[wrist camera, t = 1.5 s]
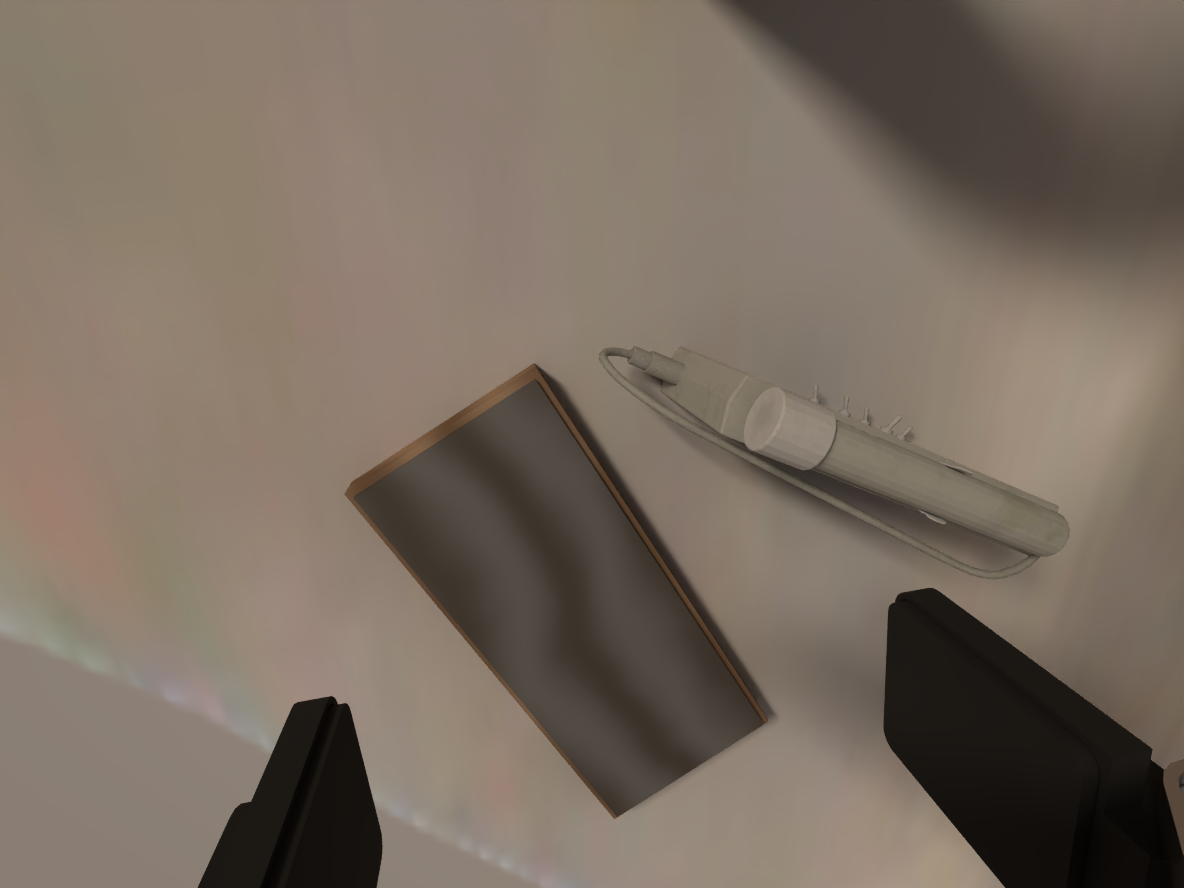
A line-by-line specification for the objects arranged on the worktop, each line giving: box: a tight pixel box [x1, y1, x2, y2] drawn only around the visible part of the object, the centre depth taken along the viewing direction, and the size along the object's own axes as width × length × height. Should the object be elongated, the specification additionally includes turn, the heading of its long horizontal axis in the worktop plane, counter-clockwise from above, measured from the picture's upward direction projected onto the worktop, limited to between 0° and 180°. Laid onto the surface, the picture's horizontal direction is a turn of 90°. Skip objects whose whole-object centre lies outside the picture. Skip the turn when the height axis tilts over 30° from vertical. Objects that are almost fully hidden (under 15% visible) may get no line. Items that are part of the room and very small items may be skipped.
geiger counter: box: [599, 346, 1070, 579], centre depth 35 cm, size 14×6×25 cm
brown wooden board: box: [345, 364, 768, 819], centre depth 42 cm, size 13×30×2 cm, turn 32°
